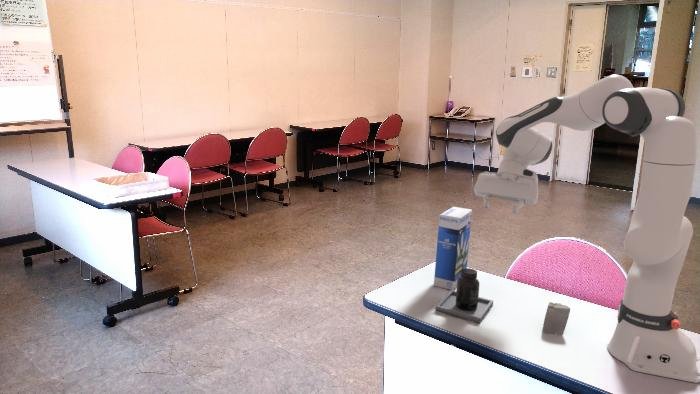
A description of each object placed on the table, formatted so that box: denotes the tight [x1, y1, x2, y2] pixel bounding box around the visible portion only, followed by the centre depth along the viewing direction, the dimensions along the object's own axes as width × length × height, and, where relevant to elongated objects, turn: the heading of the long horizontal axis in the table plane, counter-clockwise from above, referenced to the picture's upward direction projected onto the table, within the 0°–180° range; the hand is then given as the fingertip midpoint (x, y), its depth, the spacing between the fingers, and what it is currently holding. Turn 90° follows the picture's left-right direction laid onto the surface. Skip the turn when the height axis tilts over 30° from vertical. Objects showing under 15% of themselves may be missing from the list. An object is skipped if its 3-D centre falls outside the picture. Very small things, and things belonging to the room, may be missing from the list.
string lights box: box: [433, 206, 473, 291], centre depth 181 cm, size 13×8×26 cm, turn 149°
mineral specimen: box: [542, 302, 571, 336], centre depth 153 cm, size 7×9×8 cm
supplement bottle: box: [455, 267, 481, 311], centre depth 163 cm, size 7×7×12 cm
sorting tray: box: [435, 290, 494, 325], centre depth 164 cm, size 14×14×2 cm
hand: (499, 210), depth 168 cm, fingers open, 8 cm apart
